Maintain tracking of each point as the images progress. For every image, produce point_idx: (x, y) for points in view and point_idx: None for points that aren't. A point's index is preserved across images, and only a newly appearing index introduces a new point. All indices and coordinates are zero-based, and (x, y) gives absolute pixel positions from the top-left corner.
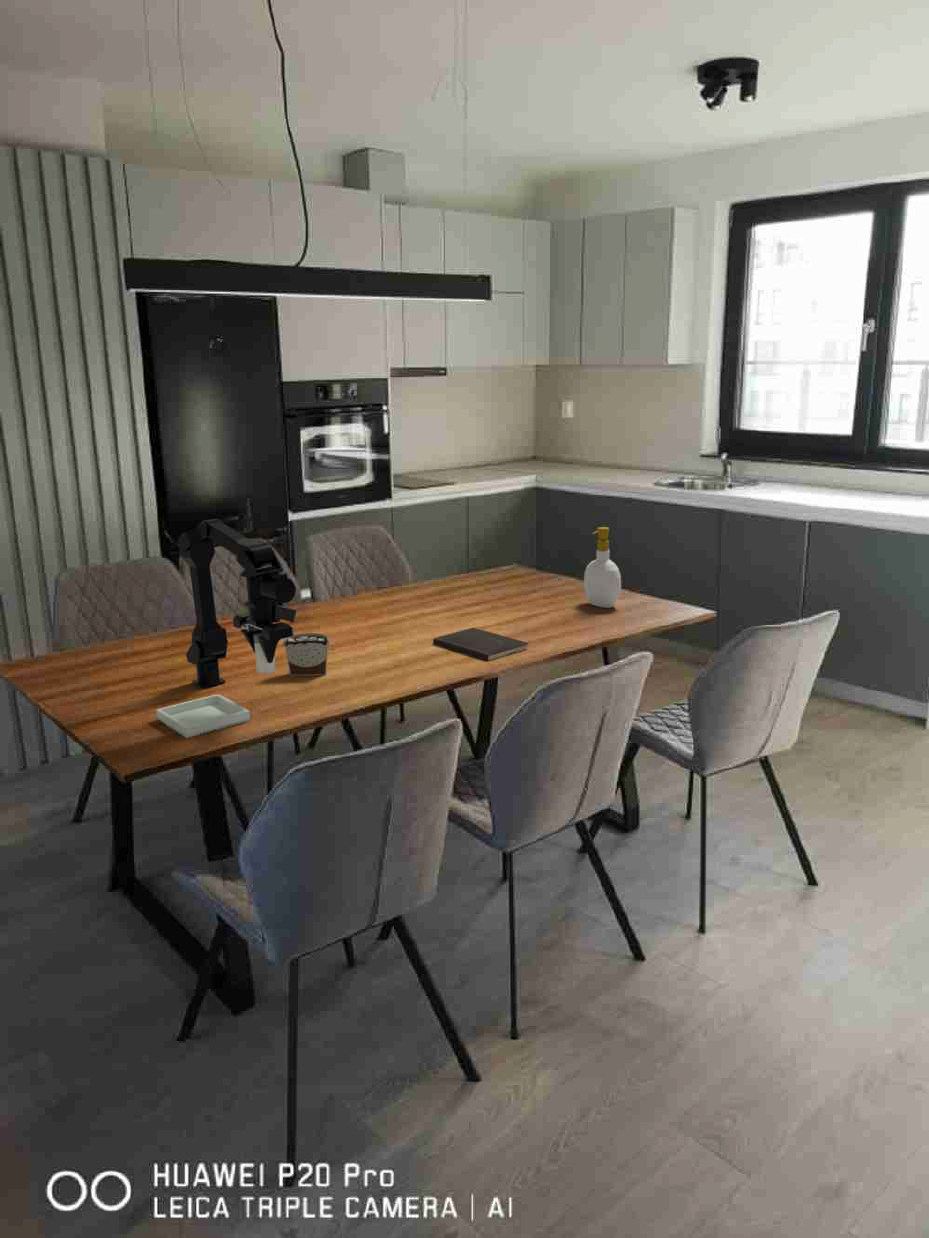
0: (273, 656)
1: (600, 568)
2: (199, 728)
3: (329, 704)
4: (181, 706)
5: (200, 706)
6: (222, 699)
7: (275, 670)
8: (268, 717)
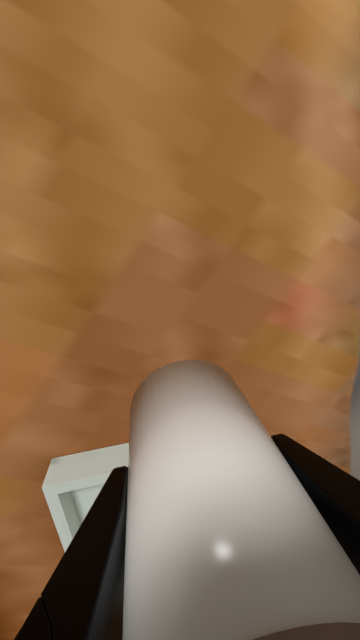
0: (327, 465)
1: None
2: None
3: (294, 132)
4: None
5: (77, 517)
6: (102, 481)
7: (218, 366)
8: (262, 367)
